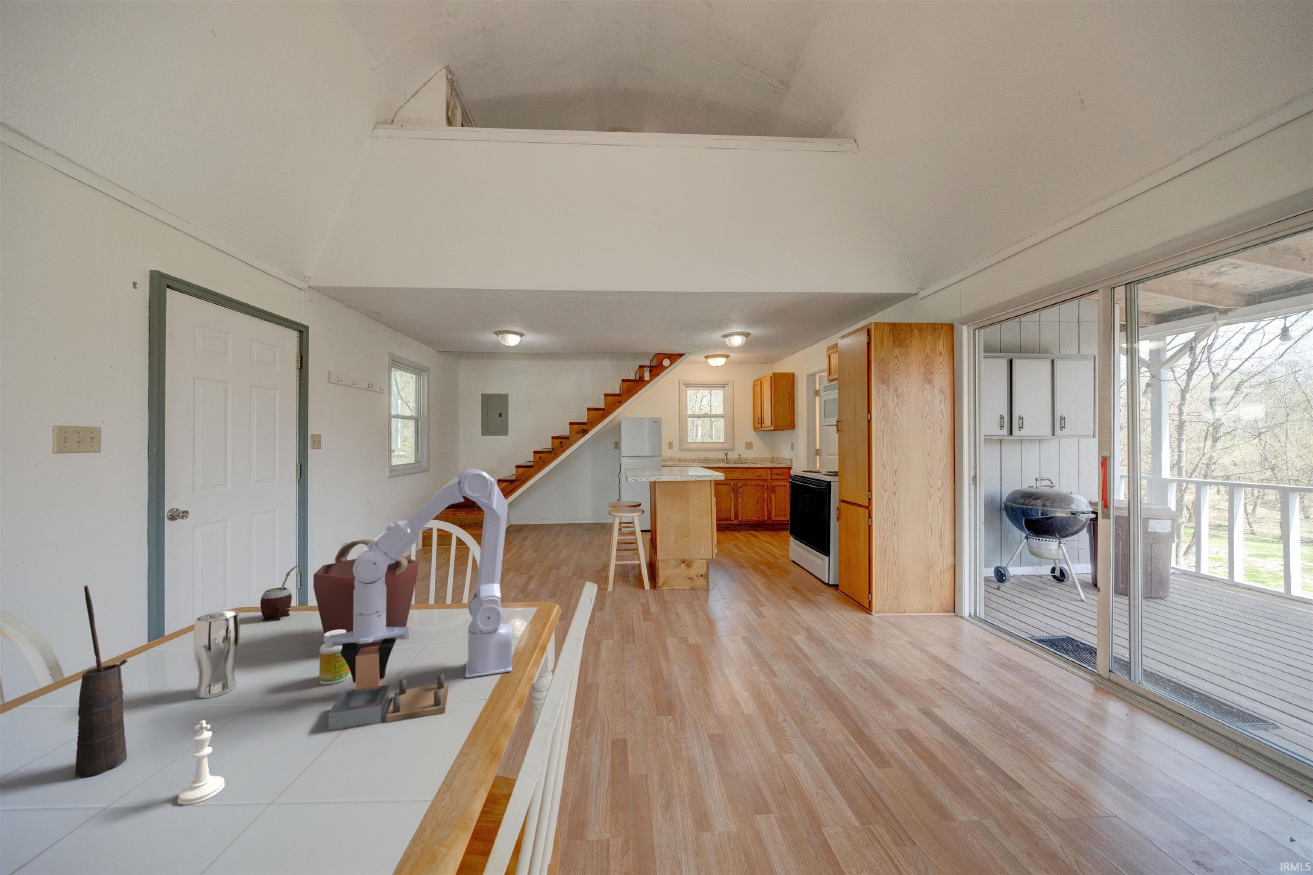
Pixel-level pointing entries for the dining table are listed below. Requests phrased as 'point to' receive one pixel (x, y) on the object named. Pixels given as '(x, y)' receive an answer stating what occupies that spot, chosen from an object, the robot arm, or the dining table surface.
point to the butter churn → (100, 713)
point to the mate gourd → (276, 602)
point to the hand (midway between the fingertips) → (369, 678)
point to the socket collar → (359, 707)
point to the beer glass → (216, 652)
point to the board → (418, 701)
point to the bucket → (338, 588)
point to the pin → (368, 668)
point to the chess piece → (201, 771)
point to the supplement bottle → (332, 662)
